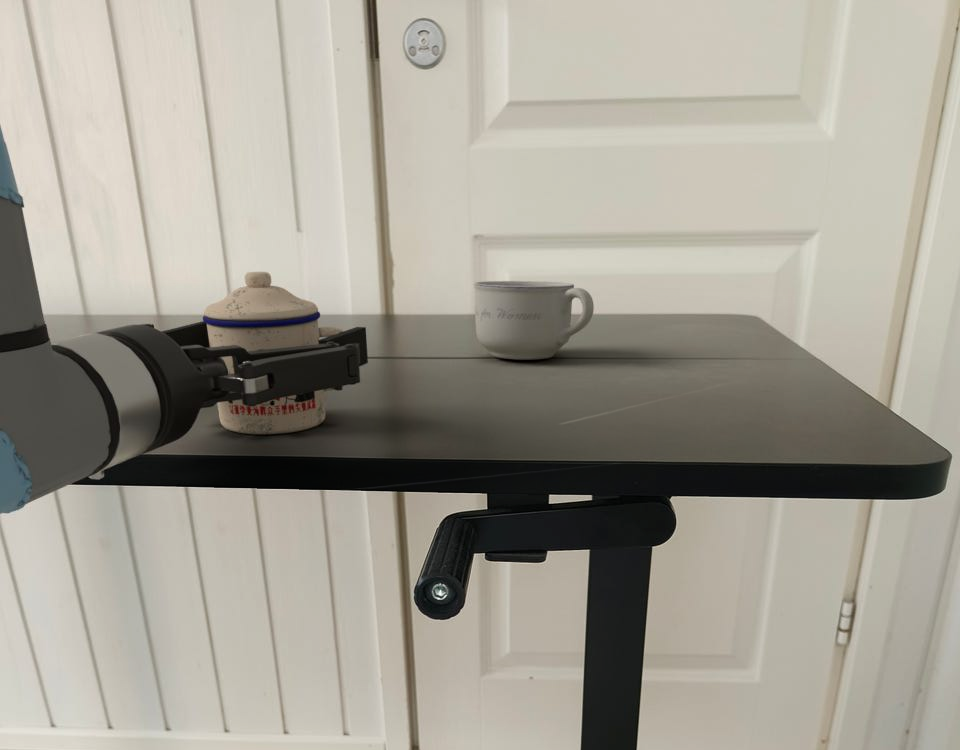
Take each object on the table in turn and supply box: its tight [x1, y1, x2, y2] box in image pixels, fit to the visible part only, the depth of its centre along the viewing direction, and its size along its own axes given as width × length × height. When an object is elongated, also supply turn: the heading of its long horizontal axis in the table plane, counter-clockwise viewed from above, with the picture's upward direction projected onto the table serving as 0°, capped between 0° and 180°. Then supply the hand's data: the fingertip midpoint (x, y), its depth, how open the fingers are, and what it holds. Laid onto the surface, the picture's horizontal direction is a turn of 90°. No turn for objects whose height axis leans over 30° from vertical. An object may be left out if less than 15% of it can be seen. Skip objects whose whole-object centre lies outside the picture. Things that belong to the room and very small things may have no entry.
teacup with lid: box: [202, 271, 346, 435], centre depth 74 cm, size 12×9×12 cm
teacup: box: [473, 280, 595, 361], centre depth 99 cm, size 14×11×8 cm
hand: (286, 341), depth 74 cm, fingers open, 13 cm apart
